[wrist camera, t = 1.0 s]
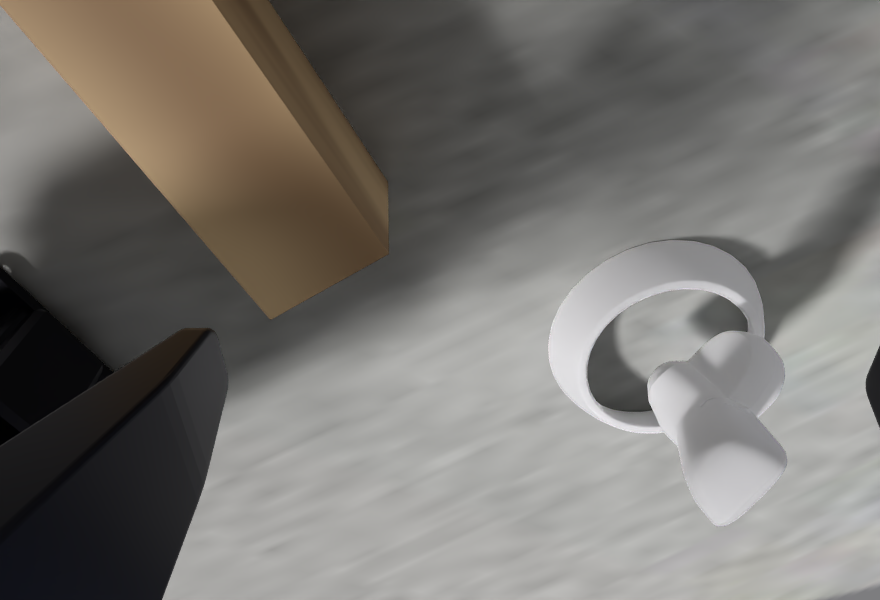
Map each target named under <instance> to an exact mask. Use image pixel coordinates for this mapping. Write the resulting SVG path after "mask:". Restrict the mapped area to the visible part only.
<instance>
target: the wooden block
mask: <svg viewBox="0 0 880 600" xmlns="http://www.w3.org/2000/svg"><path fill="white" fill-rule="evenodd" d="M0 6H1V7H2V8H3V9H4V10H5V11H6V13H7V14H8V15H9V16H10V17H11V18H12V20H13V21H14V22H15V23H16V24H17V25H18V26H19V28H20V29H21V30H22V31H23V32H24V33H25V35H26V36H27V37H28V38H29V39H30V40H31V42H32V43H33V44H34V45H35V46H36V47H37V49H38V50H39V51H40V52H41V53H42V54H43V56H44V57H45V58H46V59H47V60H48V61H49V63H50V64H51V65H52V66H53V67H54V68H55V70H56V71H57V72H58V73H59V74H60V75H61V77H62V78H63V79H64V80H65V81H66V82H67V84H68V85H69V86H70V87H71V88H72V89H73V91H74V92H75V93H76V94H77V95H78V96H79V98H80V99H81V100H82V101H83V102H84V103H85V105H86V106H87V107H88V108H89V109H90V110H91V112H92V113H93V114H94V115H95V116H96V117H97V119H98V120H99V121H100V122H101V123H102V124H103V126H104V127H105V128H106V129H107V130H108V131H109V133H110V134H111V135H112V136H113V137H114V138H115V139H116V141H117V142H118V143H119V144H120V145H121V146H122V148H123V149H124V150H125V151H126V152H127V153H128V155H129V156H130V157H131V158H132V159H133V160H134V162H135V163H136V164H137V165H138V166H139V167H140V169H141V170H142V171H143V172H144V173H145V174H146V176H147V177H148V178H149V179H150V180H151V181H152V183H153V184H154V185H155V186H156V187H157V188H158V190H159V191H160V192H161V193H162V194H163V195H164V197H165V198H166V199H167V200H168V201H169V202H170V204H171V205H172V206H173V207H174V208H175V209H176V211H177V212H178V213H179V214H180V215H181V216H182V218H183V219H184V220H185V221H186V222H187V223H188V225H189V226H190V227H191V228H192V229H193V230H194V232H195V233H196V234H197V235H198V236H199V237H200V239H201V240H202V241H203V242H204V243H205V244H206V246H207V247H208V248H209V249H210V250H211V251H212V253H213V254H214V255H215V256H216V257H217V258H218V259H219V261H220V262H221V263H222V264H223V265H224V266H225V268H226V269H227V270H228V271H229V272H230V273H231V275H232V276H233V277H234V278H235V279H236V280H237V282H238V283H239V284H240V285H241V286H242V287H243V289H244V290H245V291H246V292H247V293H248V294H249V296H250V297H251V298H252V299H253V300H254V301H255V303H256V304H257V305H258V306H259V307H260V308H261V310H262V311H263V312H264V313H265V314H266V315H267V317H268V318H269V319H270V320H271V319H273V318H275V317H277V316H279V315H280V314H282V313H284V312H286V311H288V310H289V309H291V308H293V307H295V306H297V305H298V304H300V303H302V302H304V301H305V300H307V299H309V298H311V297H313V296H314V295H316V294H318V293H320V292H322V291H323V290H325V289H327V288H329V287H331V286H332V285H334V284H336V283H338V282H340V281H341V280H343V279H345V278H347V277H349V276H350V275H352V274H354V273H356V272H357V271H359V270H361V269H363V268H365V267H366V266H368V265H370V264H372V263H374V262H375V261H377V260H379V259H381V258H383V257H384V256H386V255H388V254H389V218H388V182H387V180H386V179H385V177H384V175H383V174H382V172H381V171H380V169H379V168H378V166H377V165H376V163H375V162H374V160H373V159H372V157H371V156H370V154H369V153H368V151H367V150H366V148H365V147H364V145H363V143H362V142H361V140H360V139H359V137H358V136H357V134H356V133H355V131H354V130H353V128H352V127H351V125H350V124H349V122H348V121H347V119H346V118H345V116H344V115H343V113H342V112H341V110H340V108H339V107H338V105H337V104H336V102H335V101H334V99H333V98H332V96H331V95H330V93H329V92H328V90H327V89H326V87H325V86H324V84H323V83H322V81H321V80H320V78H319V76H318V75H317V73H316V72H315V70H314V69H313V67H312V66H311V64H310V63H309V61H308V60H307V58H306V57H305V55H304V54H303V52H302V51H301V49H300V48H299V46H298V44H297V43H296V41H295V40H294V38H293V37H292V35H291V34H290V32H289V31H288V29H287V28H286V26H285V25H284V23H283V22H282V20H281V19H280V17H279V16H278V14H277V12H276V11H275V9H274V8H273V6H272V5H271V3H270V2H269V0H0Z"/></svg>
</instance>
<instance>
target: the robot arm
mask: <svg viewBox="0 0 880 600" xmlns="http://www.w3.org/2000/svg"><path fill="white" fill-rule="evenodd" d="M227 390H228V374H227V370H226V366H225V363H224V359H223V355H222V351H221V348H220V344H219V340H218V337H217V335H216V333H215V331H213V330H212V329H210V328H184V329H181V330H180V331H178V332H176V333H175V334H173V335H172V336H170V337H169V338H167V339H166V340H164V341H162V342H161V343H159V344H158V345H156V346H155V347H153V348H152V349H150V350H148V351H147V352H145V353H144V354H142V355H141V356H139V357H138V358H136V359H134V360H133V361H131V362H130V363H128V364H127V365H125V366H124V367H122V368H120V369H119V370H117V371H116V372H114V373H113V372H112V371H111V370H110V369H109V368H108V367H107V366H106V365H104V364H103V363H102V362H101V361H100V360H99V359H98V358H97V357H96V356H95V355H94V354H93V353H92V352H91V351H90V350H88V349H87V348H86V347H85V346H84V345H83V344H82V343H81V342H80V341H79V340H78V339H77V338H76V337H75V336H74V335H72V334H71V333H70V332H69V331H68V330H67V329H66V328H65V327H64V326H63V325H62V324H61V323H60V322H59V321H58V320H57V319H55V318H54V317H53V316H52V315H51V314H50V313H49V312H48V311H47V310H46V309H45V308H44V307H43V306H42V305H41V304H39V303H38V302H37V301H36V300H35V299H34V298H33V297H32V296H31V295H30V294H29V293H28V292H27V291H26V290H25V289H24V288H22V287H21V286H20V285H19V284H18V283H17V282H16V281H15V280H14V279H13V278H12V277H11V276H10V275H9V274H8V273H6V272H5V271H4V270H3V269H1V268H0V600H162V598H163V596H164V593H165V590H166V588H167V585H168V582H169V579H170V577H171V574H172V571H173V569H174V566H175V563H176V561H177V558H178V555H179V553H180V550H181V547H182V545H183V542H184V539H185V536H186V534H187V531H188V528H189V526H190V523H191V520H192V518H193V515H194V512H195V510H196V507H197V504H198V502H199V499H200V496H201V493H202V490H203V487H204V484H205V480H206V476H207V473H208V469H209V465H210V460H211V456H212V452H213V448H214V444H215V440H216V436H217V432H218V427H219V423H220V419H221V415H222V411H223V407H224V403H225V398H226V394H227ZM866 392H867V396H868V399H869V402H870V404H871V407H872V409H873V412H874V415H875V417H876V420H877V422H878V425H879V428H880V346H879V349H878V351H877V353H876V356H875V358H874V361H873V363H872V365H871V368H870V370H869V372H868V375H867V378H866Z"/></svg>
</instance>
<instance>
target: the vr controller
mask: <svg viewBox="0 0 880 600" xmlns="http://www.w3.org/2000/svg"><path fill="white" fill-rule="evenodd" d="M680 289H695V290H704V291H708V292H712V293H716V294H718V295H720V296H722V297H724V298H726V299H729V300H730V301H731V302H732V303H734V304H735V305H736V306H737V307H738V308H739V309H740V310H741V311H742V313H743V314H744V315H745V317H746V318H747V321H748V330H747V332H743V331H726V332H722V333H720V334H718V335H716V336H714V337H713V338H711V339H710V340H709V341H708V342H707V343H705V344H704V345H703V346H702V347H701V348H700V349H699V350H698V351H697V352H696V353H695V354H694V355H693V356H692V357H691V358H690V359H689V361H669V362H666V363H663V364H662V365H660V366H659V367H658V368H657V369H656V370H655V371H654V372H653V373H652V375H651V376H650V377H649V380H648V384H647V388H648V400H649V403H650V405H651V408H652V410H651V411H644V412H624V411H619V410H613V409H610V408H608V407H605V406H602V405H601V404H599V403H598V402H597V401H596V400H595V398H594V396H593V394H592V393H591V391H590V387H589V383H588V379H587V365H588V361H589V357H590V353H591V350H592V348H593V346H594V344H595V342H596V340H597V338H598V337H599V335H600V334H601V333H602V331H603V330H604V329H605V327H606V326H607V325H608V324H609V323H610V322H611V321H612V320H613V319H614V318H615V317H616V316H617V315H618V314H620V313H621V312H623V311H624V310H626V309H627V308H628V307H630V306H631V305H633V304H635V303H637V302H639V301H641V300H643V299H645V298H647V297H649V296H653V295H656V294H659V293H663V292H666V291H673V290H680ZM764 337H765V322H764V310H763V303H762V300H761V296H760V294H759V291H758V288H757V285H756V282H755V280H754V279H753V277H752V276H751V274H750V273H749V271H748V270H747V268H746V267H745V266H744V265H743V264H741V263H740V262H739V261H738V260H737V259H736V258H734V257H733V256H732V255H731V254H729V253H727V252H725V251H723V250H721V249H719V248H717V247H715V246H712V245H708V244H704V243H700V242H696V241H686V240H667V241H659V242H652V243H647V244H644V245H640V246H637V247H634V248H631V249H628V250H625V251H623V252H621V253H619V254H617V255H615V256H613V257H611V258H609V259H607V260H605V261H604V262H603V263H601V264H600V265H598V266H597V267H596V268H594V269H593V270H591V271H590V272H589V273H587V274H586V275H585V276H584V277H583V278H582V279H581V280H580V281H579V282H578V283H577V284H576V285H575V286H574V287H573V288H572V289H571V291H570V292H569V294H568V295H567V297H566V298H565V300H564V301H563V302H562V304H561V305H560V307H559V309H558V312H557V314H556V316H555V319H554V321H553V323H552V326H551V331H550V336H549V341H548V349H549V362H550V366H551V369H552V373H553V376H554V378H555V379H556V381H557V383H558V385H559V386H560V388H561V390H562V391H563V392H564V393H565V394H566V395H567V396H568V397H569V398H570V399H571V400H572V401H573V402H574V403H575V404H576V405H577V406H578V407H580V408H581V409H583V410H584V411H585V412H587V413H588V414H590V415H592V416H593V417H595V418H596V419H598V420H599V421H602V422H604V423H606V424H608V425H611V426H613V427H616V428H618V429H621V430H624V431H629V432H635V433H655V434H656V433H663V432H664V433H665V434H666V435H667V436H668V438H669V439H670V440H671V441H672V442H674V443H675V444H676V445H677V446H678V450H679V455H680V460H681V465H682V470H683V475H684V478H685V480H686V483H687V485H688V488H689V490H690V492H691V494H692V497H693V499H694V501H695V502H696V503H697V505H698V506H699V507H700V509H701V510H702V511H703V512H704V514H705V515H706V516H707V517H708V519H709V520H710V521H711V522H712V523H713V524H714V525H715V526H726V525H728V524H731V523H733V522H734V521H735V520H737V519H738V518H740V517H741V516H742V515H743V514H744V513H746V512H747V511H748V510H749V509H750V508H751V507H752V506H753V505H754V504H755V503H756V502H757V501H758V500H759V499H760V498H761V497H762V496H763V495H764V494H765V493H766V492H767V491H768V490H769V489H770V488H771V487H772V486H773V485H774V484H775V483H776V482H777V480H778V479H779V478H780V477H781V475H782V474H783V472H784V470H785V468H786V465H787V456H786V452H785V451H784V449H783V448H782V446H781V445H780V443H779V442H778V441H777V440H776V439H775V438H774V437H773V435H772V434H771V433H770V432H769V431H768V430H767V429H766V427H765V426H764V425H763V424H762V423H761V422H760V420H759V419H758V417H759V416H760V415H761V414H762V413H763V412H764V411H765V410H766V409H767V408H768V407H769V406H771V405H772V404H773V402H774V401H775V400H776V398H777V397H778V395H779V393H780V392H781V389H782V386H783V383H784V378H785V368H784V364H783V361H782V359H781V357H780V356H779V355H778V353H777V352H776V351H775V349H774V348H773V347H772V346H771V345H770V343H769V342H767V341H766V340H765V339H764Z"/></svg>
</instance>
